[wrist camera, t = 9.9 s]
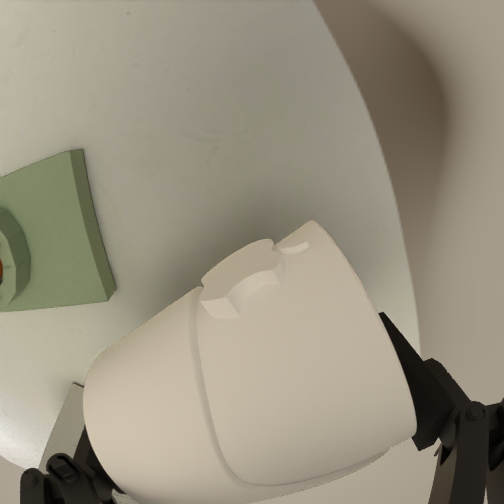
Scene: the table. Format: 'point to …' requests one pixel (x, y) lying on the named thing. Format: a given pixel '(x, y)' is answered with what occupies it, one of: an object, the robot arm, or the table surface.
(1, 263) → the button
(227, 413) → the mug
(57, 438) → the cosmetics box
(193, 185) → the table surface
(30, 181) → the green button base
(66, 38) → the table surface
